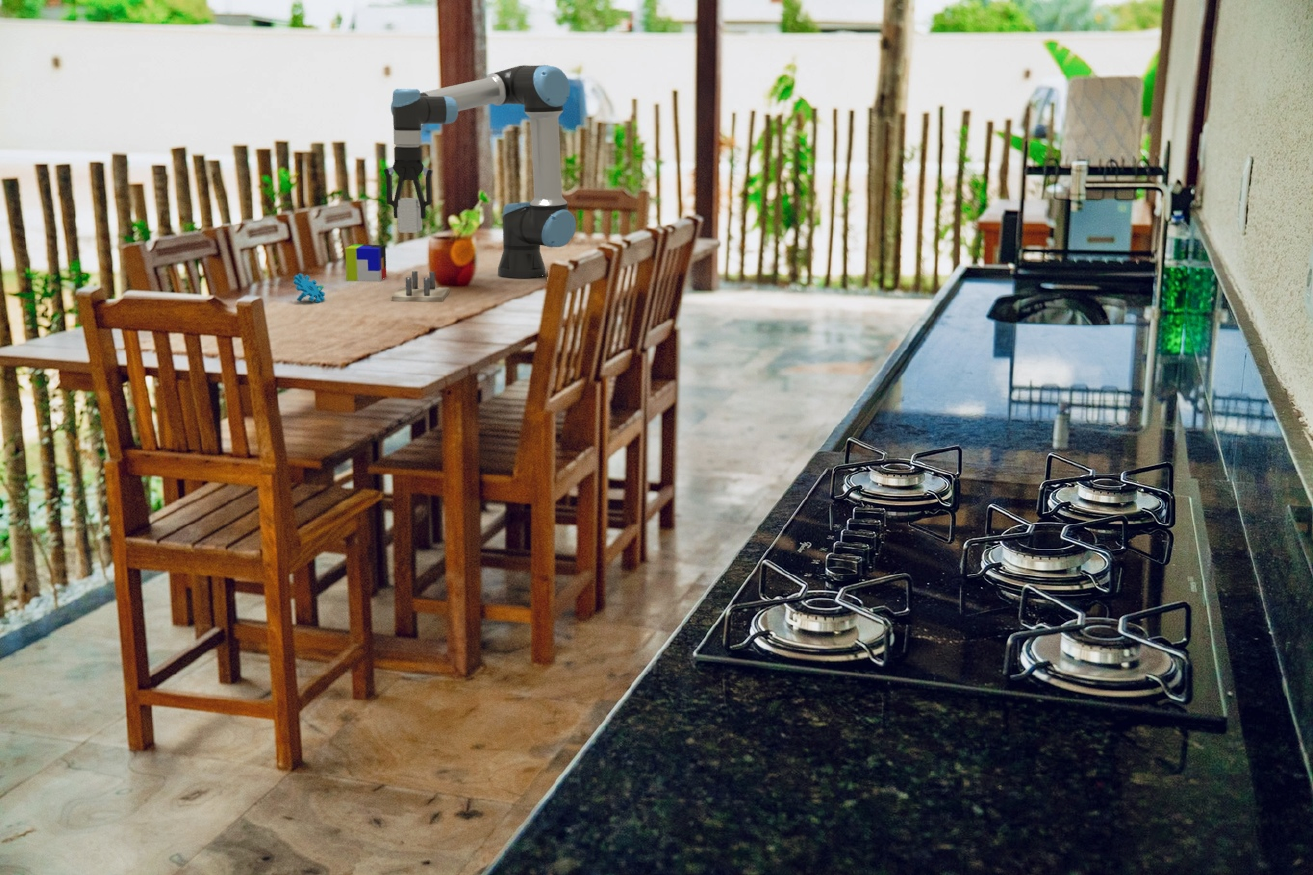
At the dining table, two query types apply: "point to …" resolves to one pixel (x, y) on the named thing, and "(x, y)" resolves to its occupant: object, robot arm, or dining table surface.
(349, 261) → the puzzle toy
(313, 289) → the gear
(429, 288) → the peg fixture base
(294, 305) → the dining table surface
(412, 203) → the jaw block
